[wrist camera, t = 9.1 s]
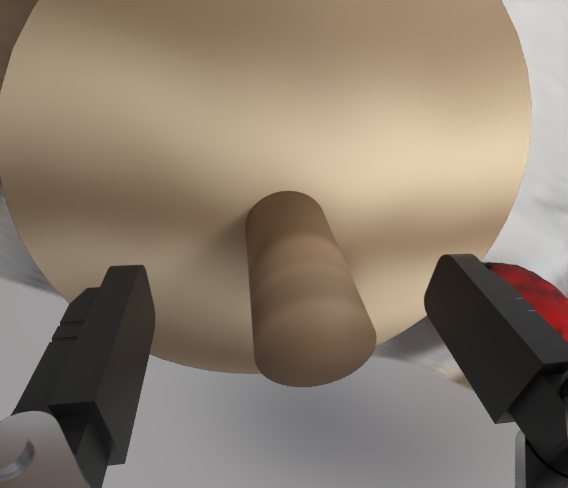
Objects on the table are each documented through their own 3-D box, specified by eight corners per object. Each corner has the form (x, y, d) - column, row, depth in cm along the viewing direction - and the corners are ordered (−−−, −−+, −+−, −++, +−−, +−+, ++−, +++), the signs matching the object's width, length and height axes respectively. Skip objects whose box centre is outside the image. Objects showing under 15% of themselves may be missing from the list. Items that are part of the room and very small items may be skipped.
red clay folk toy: (423, 279, 24) (628, 577, 11) (525, 230, 22) (882, 510, 10) (448, 336, 28) (617, 597, 16) (535, 298, 26) (794, 552, 14)
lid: (-139, -160, 7) (-1182, -603, 2) (627, -79, 9) (1109, -171, 4) (97, 373, 16) (43, 530, 12) (430, 346, 19) (500, 468, 14)
